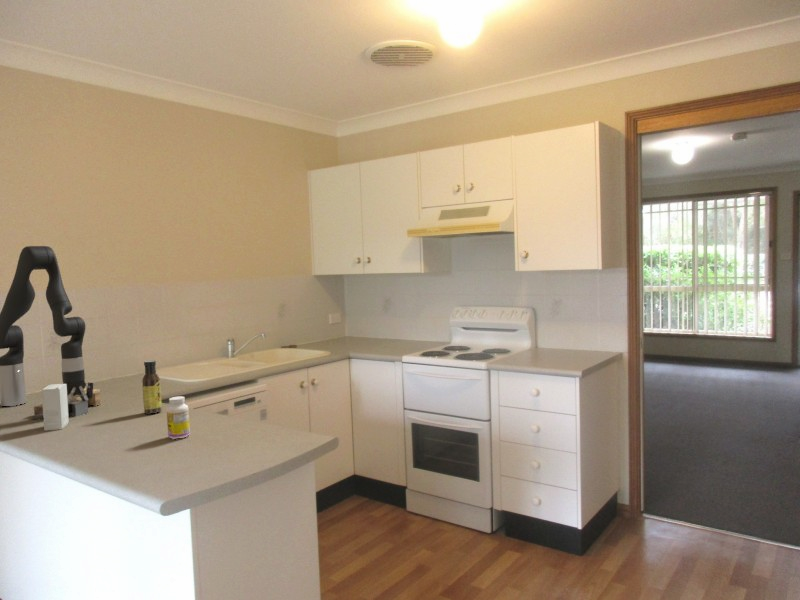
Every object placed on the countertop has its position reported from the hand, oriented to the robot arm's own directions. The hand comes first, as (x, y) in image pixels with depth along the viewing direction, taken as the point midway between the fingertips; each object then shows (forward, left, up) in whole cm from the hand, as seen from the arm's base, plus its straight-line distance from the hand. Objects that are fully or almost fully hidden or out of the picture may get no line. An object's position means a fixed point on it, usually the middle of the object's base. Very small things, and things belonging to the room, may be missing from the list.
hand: (76, 412), depth 227 cm
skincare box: (+12, -14, -1) cm, 19 cm away
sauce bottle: (+27, +14, -1) cm, 31 cm away
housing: (0, 0, -1) cm, 1 cm away
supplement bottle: (+64, -3, -1) cm, 65 cm away
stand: (-10, +7, -1) cm, 12 cm away
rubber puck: (-7, -10, -1) cm, 13 cm away
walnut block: (-11, -7, -1) cm, 13 cm away
